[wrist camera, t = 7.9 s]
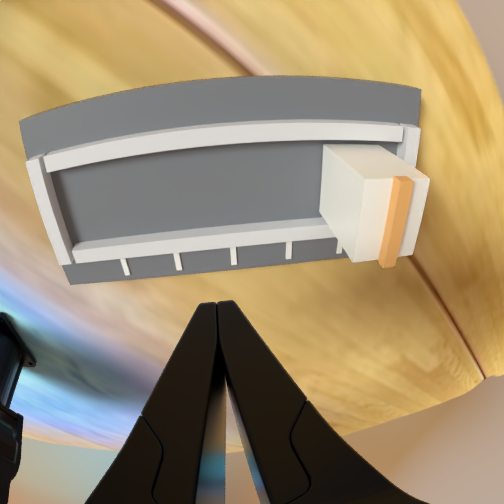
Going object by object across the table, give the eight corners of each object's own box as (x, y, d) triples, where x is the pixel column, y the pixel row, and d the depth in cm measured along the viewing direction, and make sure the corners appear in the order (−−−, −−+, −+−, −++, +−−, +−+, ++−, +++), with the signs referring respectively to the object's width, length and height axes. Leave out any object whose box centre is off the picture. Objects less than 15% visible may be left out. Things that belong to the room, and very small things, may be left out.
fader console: (384, 238, 20) (401, 258, 18) (77, 269, 18) (66, 293, 16) (405, 85, 14) (430, 91, 12) (32, 115, 12) (10, 125, 10)
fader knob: (370, 209, 16) (417, 263, 12) (319, 213, 16) (356, 272, 12) (378, 142, 14) (438, 181, 10) (323, 142, 14) (371, 181, 10)
